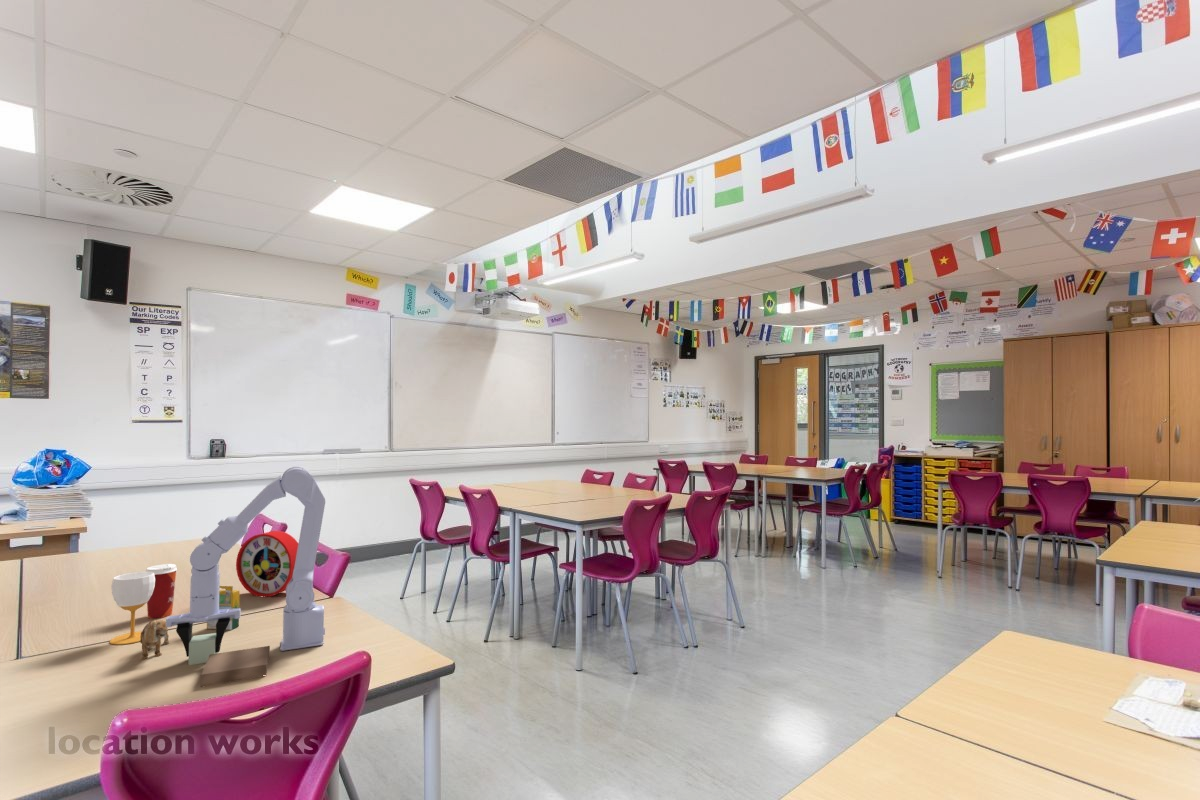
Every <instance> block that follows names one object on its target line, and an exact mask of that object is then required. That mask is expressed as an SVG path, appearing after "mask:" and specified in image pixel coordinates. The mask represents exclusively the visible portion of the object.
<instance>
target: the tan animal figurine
mask: <svg viewBox="0 0 1200 800" xmlns="http://www.w3.org/2000/svg"><path fill="white" fill-rule="evenodd" d="M168 628H169V627H166V620H163V619H158V620H155V619H154V620H152V621H149V622H148V623H147V624H146V625H145V626H144V627H143V629H142V630H141V631H142V632H141V637H140V639H141V640H140V641H141V642H140V644H142V645H141V651H142V656H141V657H140V660H146V659H147V658H148V657H149V654H148V651H150V650H151V651H152V649H154V647H155V649H154V652H153V653H154V656H155V657H160V656H162V654H163V653H162V652H161V646H162V644H163V645H169V643H170V642H169V634H168V631H169V629H168ZM162 638H164V640H163V642H162Z"/></svg>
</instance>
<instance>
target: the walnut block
mask: <svg viewBox="0 0 1200 800" xmlns="http://www.w3.org/2000/svg"><path fill="white" fill-rule="evenodd" d="M270 648H271V646H270V645H266V646H260V647H252V648H246V649H239V650H238V649H237V650H232V651H225V652H218V653H216V654H210V655H209V657H208V660H207V662H206V663H204V667H203V669H202V671H201V675H200V687H201V688H203V686H204V687H209V686H215V685H220V684H227V683H232V682H239V681H244V680H250V678H252V679H255V678H254V677H257V678H260V677H259V676H263V675H266V676H267V674H266V673H267V672H268V667H269V663H270V654H271V653H270V652H271V651H270V650H271V649H270ZM268 662H269V663H268ZM263 677H264V676H263Z"/></svg>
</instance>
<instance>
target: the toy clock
mask: <svg viewBox="0 0 1200 800" xmlns="http://www.w3.org/2000/svg"><path fill="white" fill-rule="evenodd" d="M298 543H299V541H297V539H296V538H295V537H294V536H292V535H291V534H290V533H288V532H285V531H281V530H272V531H267V532H264V533H260V534H256V535H253V536H251V537H249V538H248V539H246V540H245V542H244V543H243V544H242V545H241V546H240V548H239V551H238V552H237V555H236V562H235V571H236V575H237V578H238V580H239V582H240V583H241V585H242V586H243V588H244V589H245V590H246V591H247V592H248V593H250V594H252V595H253V596H255V597H259V596H263V597H262V598H269V597H272V596H275V595H278V594H280V593H283V592H286V587H287V585H288V583H289V582H290V581H291V579H292V575H293V571H294V567H295V561H296V555H297V549H298ZM264 596H265V597H264ZM267 596H268V597H267Z"/></svg>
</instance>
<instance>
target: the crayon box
mask: <svg viewBox="0 0 1200 800" xmlns="http://www.w3.org/2000/svg"><path fill="white" fill-rule="evenodd" d="M233 588H234V587H233V585H231V586H230V585H229V586H228V585H219V609H237V608H240V594H241V591H240V590H233ZM221 589H223V590H221ZM224 589H225V590H224ZM217 622H218V620H216V621H208V622H206V629H207V630H216V623H217ZM239 625H240V618H239V619H234V618H232V619H231V620H230V622H229V624H228V626H227V628H226V630H228V631H232V630H234V629H237V628H238V627H239ZM226 630H225V631H226Z"/></svg>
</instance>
